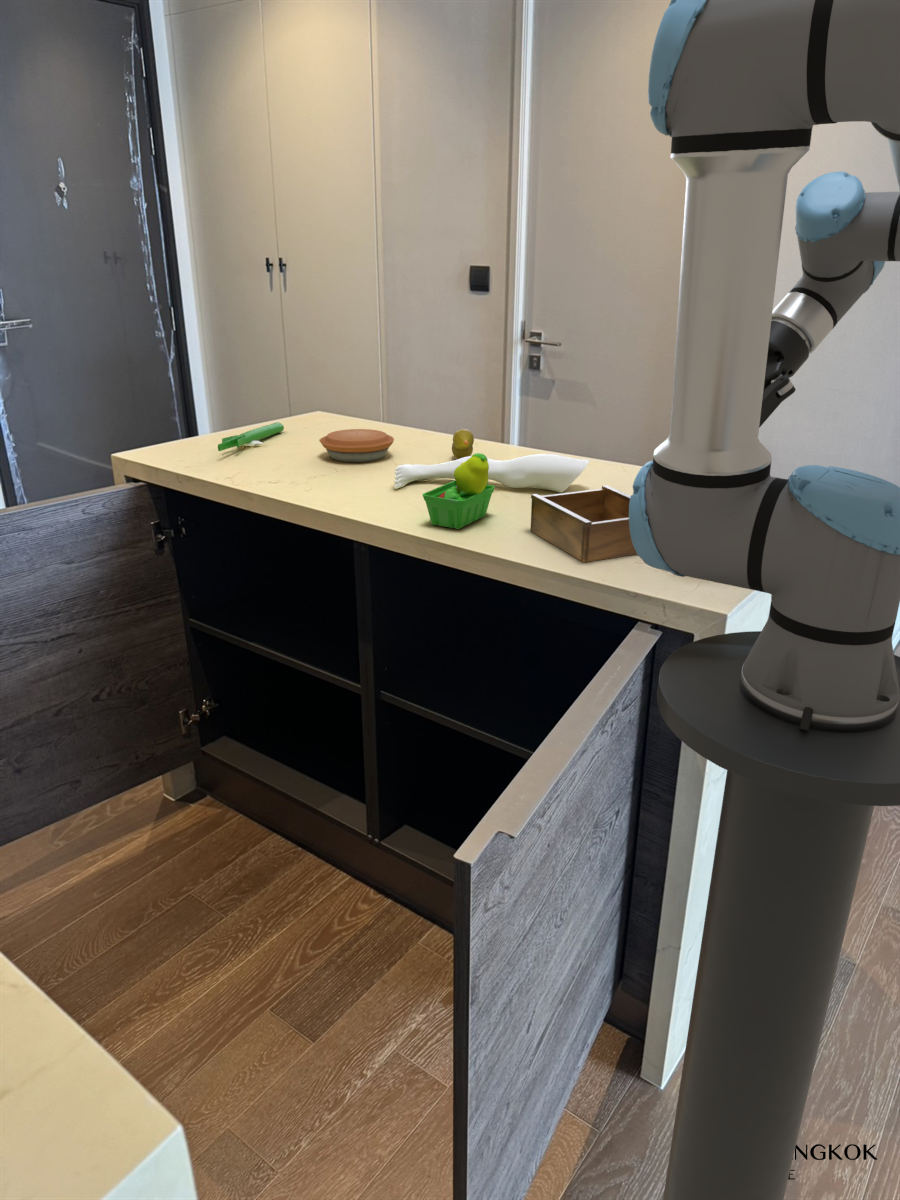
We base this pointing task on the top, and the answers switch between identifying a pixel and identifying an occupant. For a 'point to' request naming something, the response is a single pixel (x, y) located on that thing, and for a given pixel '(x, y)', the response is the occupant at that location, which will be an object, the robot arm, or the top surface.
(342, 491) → the top surface
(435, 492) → the fruit basket
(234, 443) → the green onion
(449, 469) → the leg
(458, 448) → the bird figurine
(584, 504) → the wooden crate
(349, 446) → the pie
